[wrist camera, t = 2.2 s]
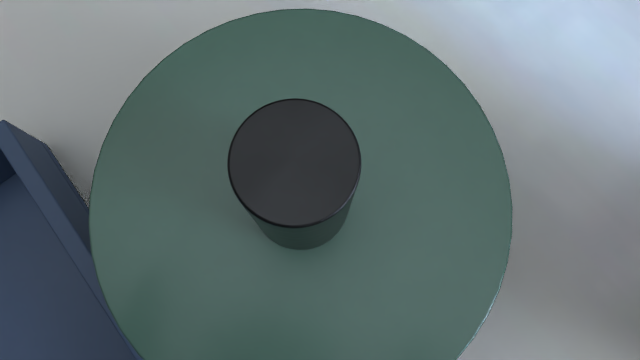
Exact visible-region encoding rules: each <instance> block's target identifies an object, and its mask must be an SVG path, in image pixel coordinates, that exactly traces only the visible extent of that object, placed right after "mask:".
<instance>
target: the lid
mask: <svg viewBox="0 0 640 360" xmlns="http://www.w3.org/2000/svg"><path fill="white" fill-rule="evenodd" d="M89 236H90V247H91V255H92V259H93V263H94V268H95V272H96V276H97V281H98V283H99V286H100V288H101V291H102V294H103V296H104V299H105V302H106V304H107V307H108V309H109V310H110V312H111V314H112V316H113V318H114V320H115V321H116V323H117V325H118V327H119V329H120V330H121V332H122V333H123V335H124V336H125V338H126V339H127V340H128V342H129V343H130V344H131V346H132V347H133V348H134V350H135V351H136V352H137V354H138V355H139V356H140V357H141V358H142V359H143V360H457V358H458V357H459V356H460V355H461V353H462V352H463V351H464V350H465V349H466V347H467V346H468V345H469V344H470V343H471V341H472V340H473V339H474V337H475V336H476V334H477V332H478V331H479V329H480V328H481V326H482V324H483V323H484V321H485V319H486V318H487V316H488V315H489V312H490V310H491V308H492V306H493V303H494V301H495V299H496V297H497V294H498V292H499V290H500V287H501V283H502V280H503V277H504V273H505V270H506V266H507V263H508V257H509V250H510V244H511V237H512V199H511V191H510V182H509V177H508V173H507V169H506V165H505V161H504V157H503V153H502V151H501V148H500V146H499V143H498V141H497V138H496V136H495V133H494V131H493V128H492V127H491V125H490V123H489V121H488V119H487V117H486V116H485V114H484V112H483V110H482V108H481V107H480V105H479V104H478V102H477V101H476V100H475V98H474V97H473V95H472V94H471V93H470V91H469V90H468V89H467V87H466V86H465V84H464V83H463V82H462V81H461V80H460V79H459V78H458V77H457V76H456V75H455V74H454V73H453V72H452V71H451V70H450V69H449V68H448V66H447V65H445V64H444V63H443V62H442V61H441V60H439V59H438V58H437V57H436V56H434V55H433V54H432V53H431V52H430V51H428V50H427V49H426V48H424V47H423V46H421V45H419V44H418V43H416V42H415V41H413V40H412V39H410V38H408V37H407V36H405V35H403V34H401V33H399V32H397V31H395V30H393V29H391V28H389V27H387V26H384V25H382V24H380V23H377V22H374V21H371V20H368V19H365V18H362V17H359V16H355V15H350V14H345V13H340V12H335V11H328V10H316V9H286V10H276V11H270V12H263V13H257V14H253V15H249V16H246V17H242V18H239V19H235V20H232V21H229V22H227V23H224V24H222V25H219V26H217V27H215V28H212V29H210V30H208V31H206V32H204V33H202V34H200V35H199V36H197V37H195V38H193V39H192V40H190V41H188V42H186V43H185V44H183V45H182V46H180V47H179V48H178V49H176V50H175V51H174V52H172V53H171V54H170V55H168V56H167V57H166V58H164V59H163V60H162V61H161V62H160V63H159V64H158V65H157V66H156V67H155V68H154V69H153V70H152V71H151V72H150V73H148V74H147V75H146V76H145V77H144V78H143V80H142V81H141V82H140V83H139V85H138V86H137V87H136V88H135V90H134V91H133V92H132V93H131V94H130V96H129V97H128V98H127V100H126V101H125V103H124V105H123V106H122V108H121V109H120V111H119V113H118V114H117V116H116V117H115V119H114V121H113V123H112V125H111V127H110V129H109V132H108V134H107V136H106V138H105V140H104V142H103V145H102V148H101V151H100V154H99V157H98V160H97V164H96V167H95V170H94V175H93V181H92V187H91V193H90V200H89Z"/></svg>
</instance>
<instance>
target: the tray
mask: <svg viewBox="0 0 640 360" xmlns="http://www.w3.org/2000/svg"><path fill="white" fill-rule="evenodd" d="M0 360H143V359H142V358H141V357H140V356H139V355H138V354H137V352H136V351H135V350H134V348H133V347H132V346H131V344H130V343H129V342H128V340H127V339H126V338H125V336H124V335H123V333H122V332H121V330H120V329H119V327H118V325H117V323H116V321H115V320H114V318H113V316H112V314H111V312H110V310H109V309H108V307H107V304H106V302H105V299H104V296H103V294H102V291H101V288H100V286H99V283H98V281H97V276H96V272H95V268H94V263H93V259H92V255H91V247H90V236H89V208H88V207H87V205H86V204H85V202H84V201H83V199H82V198H81V196H80V195H79V193H78V192H77V190H76V189H75V187H74V186H73V184H72V183H71V181H70V180H69V178H68V176H67V175H66V173H65V172H64V170H63V169H62V167H61V166H60V164H59V163H58V161H57V160H56V158H55V157H54V155H53V154H52V152H51V151H50V149H49V148H48V146H47V145H46V144H45V143H43V142H41V141H39V140H38V139H36V138H34V137H33V136H31V135H29V134H27V133H26V132H24V131H22V130H21V129H19V128H17V127H15V126H14V125H12V124H10V123H9V122H7V121H5V120H2V121H0Z"/></svg>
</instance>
